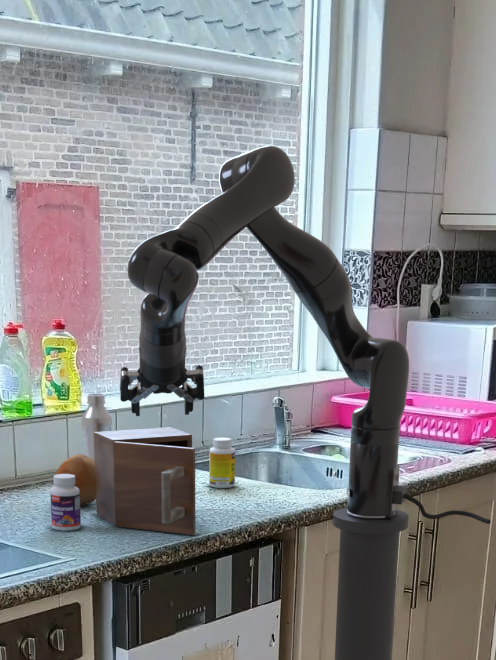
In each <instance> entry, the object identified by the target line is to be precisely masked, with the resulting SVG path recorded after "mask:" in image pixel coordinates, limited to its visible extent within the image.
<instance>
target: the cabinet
mask: <svg viewBox="0 0 496 660" xmlns="http://www.w3.org/2000/svg"><path fill="white" fill-rule="evenodd" d="M116 441H119V442H131V443H142V444H154V445H165V446H177V447H188V448H193V434H191V433H189V432H186V431H183V430H179V429H177V428H175V427H171V426H167V427H166V426H165V427H151V428H149V427H148V428H135V429H120V430H119V429H118V430H111V431H103V432H94V451H95V481H96V500H95V510H96V516H97V517H100V518H102V519H103V520H105V521H107V522H109V523H110V524H111V525H114V526H116V508H115V471H114V442H116ZM116 527H117V526H116Z"/></svg>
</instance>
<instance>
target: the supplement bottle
mask: <svg viewBox="0 0 496 660" xmlns="http://www.w3.org/2000/svg"><path fill="white" fill-rule="evenodd" d="M232 442H233V439H232V438H230V437H215V438H214V437H213V441H212V447H211V448H210V449H209V471H208V472H209V485H210V487H212V488H215V489H228V488H229V489H230V488H233V487H234V486H235V484H236V449H235V448H234V447H232V446H233V443H232Z"/></svg>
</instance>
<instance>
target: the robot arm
mask: <svg viewBox="0 0 496 660" xmlns="http://www.w3.org/2000/svg"><path fill="white" fill-rule="evenodd" d="M218 175H219V176H218V180H219V181H218V182H219V186H220V190H221V194H219V195H217V196H215V197H214V198H212V199H211V200H209V201H207V202H205V203H204V204H202V205H201V206H199V207H198V208H196V209H195V210H194V211H193V212H191V213H190V215H188V216H187V217H185V219H184V220H183V221H182V222H181V223H179V225H177V226H176V227H175V228H173V229H169V230H166V231H164V232H161V233H159V234H156V235H153V236H151V237H148V238H147V239H145V240H144V241H142V242H141V243H140V244H139V245H137V246H136V247H135V249H134V250H133V252H132V253H131V254H130V257H129V259H128V262H127V269H126V273H127V277H128V279H129V281H130V283H131V284H132V285H133V286H134V287H135V288H137V289H138V290H140V291H142V292H144V293H146V295H145V296H144V298H143V299H142V301H141V304H140V311H139V312H140V315H139V317H140V329H139V330H140V331H139V336H138V339H139V340H138V342H139V344H138V345H139V346H138V351H139V354H138V355H139V368H138V369H137V370H136V371H132V370H131V371H130V370H129V368H128V367H126V366H122V367H121V368H120V380H119V395H120V396H119V397H120V398H119V400H120V401H121V402H123V403H124V402H125V403H126V402H127V401H130V405H131V408H130V409H131V413H132V414H135V417H141V407H140V406H141V405H140V402H141V401H142V400H143V399H144V400H146V399H147V398H148V397H149V396H150V395H151V394H152V393H153V394H154V395H158V394H173V393H174V394H175V395H176V396H178V397H179V398H180V399H182V398H183V401H184V403H183V404H184V405H183V406H184V407H183V408H184V415H186V416H189V415H190V413H192V412H193V411H194V401H195V400H199V401H202V400H204V399H205V377H204V367H203V366H202V365H197V366H195V369H190V370H189V369H187V368H186V355H187V335H186V315H187V311H188V308H189V305H190V302H191V300H192V297H193V296H194V293H195V291H196V289H197V286H198V285H199V284H198V283H199V279H200V278H199V277H200V275H199V271H200V270H203V268H205V267H206V266H207V265H208V264H210V262H212V260H213V259H214V258H215V257H216V256H217V255H218V254H219V253H220V252H221V251H222V250H223V249H225V247H226V246H227V245H228V244H229V243H230V242H231V241H232V240H234V238H235V237H236V236H238V235H239V234H240V233H241V232H242V231H243V230H244V229H247V230H248V231H249V232H250V234H252V236H253V237H254V238H255V239H256V240H257V242H258V243H259V244H260V246H262V247H263V249H264V250H265V251H266V253H267V254H268V255H269V257H270V258H271V260H272V261H273V262H274V264H275V265H276V267H277V268H278V269H279V270H280V272H281V273H282V275H283V277H284V278H285V279H286V281H287V282H288V284H289V286H290V287H291V289H292V291H293V292H294V293H295V295H296V296H297V298H298V299H299V300H300V302H301V303H302V305H303V306H304V307H305V309H306V310H307V311H308V313H309V314H310V315H311V317H312V318H313V320H314V321H315V323H316V325H317V326H318V328H319V329H320V330H321V332H322V333H323V334H324V336H325V338H326V339H327V341H328V342H329V344H330V345H331V348H332V349H333V352H334V353H335V355H336V357H337V359H338V361H339V363H340V365H341V367H342V369H343V370H344V372H345V374H346V375H347V377H348V378H349V380H350V381H351V382H352V383H354V384H355V385H357V386H359V387H361V388H365V389H369V392H368V398H367V402H366V403H365V404H364V405H363V406H361V407H358V408H355V409H354V410H353V411H352V413H351V424H350V425H351V428H350V445H349V447H350V448H349V450H350V451H349V468H348V469H349V470H348V486H347V487H346V493H345V494H346V496H347V503H346V504H347V505H346V506H347V507H348V509H347V515H348V516H351V517H354V518H358V519H366V520H383V519H387V520H391V519H392V518H393V517H394V516H395V515H396V514H397V510H398V505H403V503H404V502H405V501H406V500H407V501H409V502H411V503H413V504H414V505H416V506H417V507H418V509H419V511H420V514H421V515H422V516H423V517H424V518H426V519H427V520H428V519H429V520H437V519H438V520H439V519H442V518H445V517H448V516H453V515H454V516H456V515H457V516H464V517H469V518H472V519H474V520H477V521H478V522H481V523H484V524H487V525H490V524H491V519H489V518H486V517H483V516H481V515H479V514H476V513H473V512H470V511H465V510H448V511H444V512H441V513H438V514H431V513H428V512H426V510H425V508H424V504H423V503H421V501H419V500H418V499H416V498H414V497H413V496H411V495H409V494H408V486H405V485H399V484H400V483H399V482H400V469H401V468H400V465H399V464H398V461H399V447H400V446H399V445H400V430H401V427H400V426H401V419H402V417H403V414H404V412H405V408H406V403H407V395H408V394H407V393H408V386H409V385H408V384H409V376H410V357H409V353H408V350H407V348H406V346H405V345H404V344H403V343H402V342H400V341H398V340H395V339H390V338H381V337H374V336H372V335H371V334H369V332H368V331H367V330H366V329H365V327H364V326H363V324H362V323H361V322H360V320H359V319H358V317H357V315H356V313H355V311H354V308H353V307H354V306H353V289H352V284H351V280H350V277H349V275H348V273H347V272H346V270H345V268H344V267H343V265H342V264H341V262H340V261H339V259H338V257H337V256H336V254H335V253H334V252H333V250H332V249H331V248H330V247H329V246H328V245H327V244H326V243H324V242H323V241H322V240H320V239H319V238H318V237H315V236H314V235H313V234H310V233H309V232H307V231H305V230H303V229H302V228H299V227H298V226H296V225H294V224H293V223H291V222H290V221H288V220H287V219H286V218H285V217H284V216H283V215H282V214H281V213H280V212H279V211H278V209H277V208H276V207H278V206H280V205H282V204H283V203H285V202H286V201H287V200H288V199H289V198H291V195H292V193H293V191H294V187H295V183H296V177H295V176H296V175H295V170H294V166H293V163H292V161H291V159H290V157H289V156H288V154H287V153H286V152H285V151H284V150H283V149H282V148H281V147H278V146H275V145H265V146H261V147H257V148H255V149H252V150H250V151H247V152H244V153H241V154H240V155H236V156H234V157H231V158H230V159H228V160H226V161H225V162H224V163H223V164H222V165H221V167H220V169H219V174H218ZM188 379H189V380H191V382H193V384H194V385H196V387H193V386H191V384H189V383H188V382H187V381H188ZM136 380H137V382H136V384H135V385H133V387H132V388H129V387H131V386H132V384H133V383H134V381H136Z"/></svg>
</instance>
